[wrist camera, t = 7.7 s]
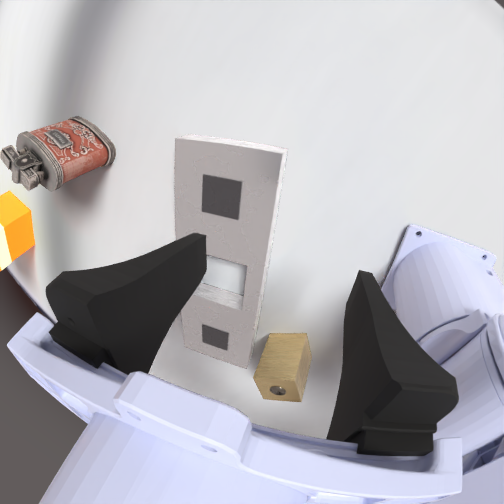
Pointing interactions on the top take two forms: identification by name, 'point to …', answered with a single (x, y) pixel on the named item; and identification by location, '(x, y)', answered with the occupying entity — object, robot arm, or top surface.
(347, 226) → the top surface
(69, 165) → the lighter
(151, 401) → the robot arm
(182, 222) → the rail
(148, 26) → the top surface
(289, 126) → the top surface
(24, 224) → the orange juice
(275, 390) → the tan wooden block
